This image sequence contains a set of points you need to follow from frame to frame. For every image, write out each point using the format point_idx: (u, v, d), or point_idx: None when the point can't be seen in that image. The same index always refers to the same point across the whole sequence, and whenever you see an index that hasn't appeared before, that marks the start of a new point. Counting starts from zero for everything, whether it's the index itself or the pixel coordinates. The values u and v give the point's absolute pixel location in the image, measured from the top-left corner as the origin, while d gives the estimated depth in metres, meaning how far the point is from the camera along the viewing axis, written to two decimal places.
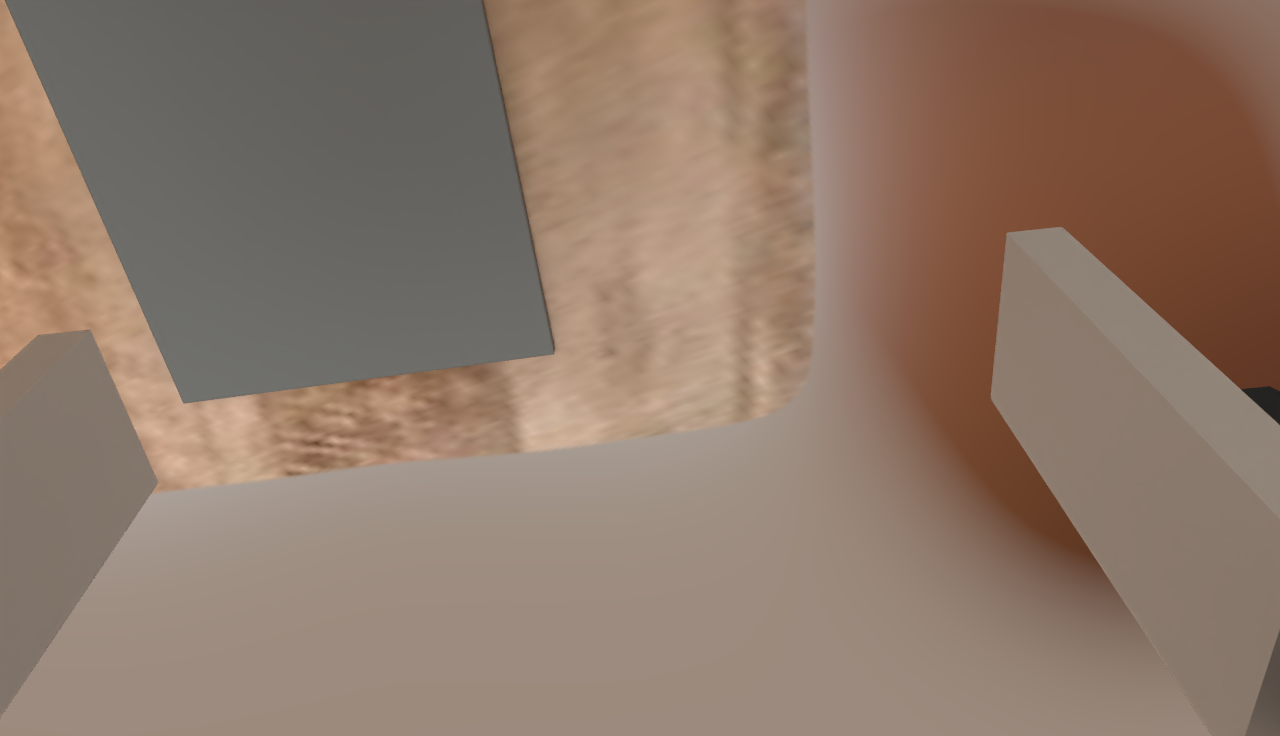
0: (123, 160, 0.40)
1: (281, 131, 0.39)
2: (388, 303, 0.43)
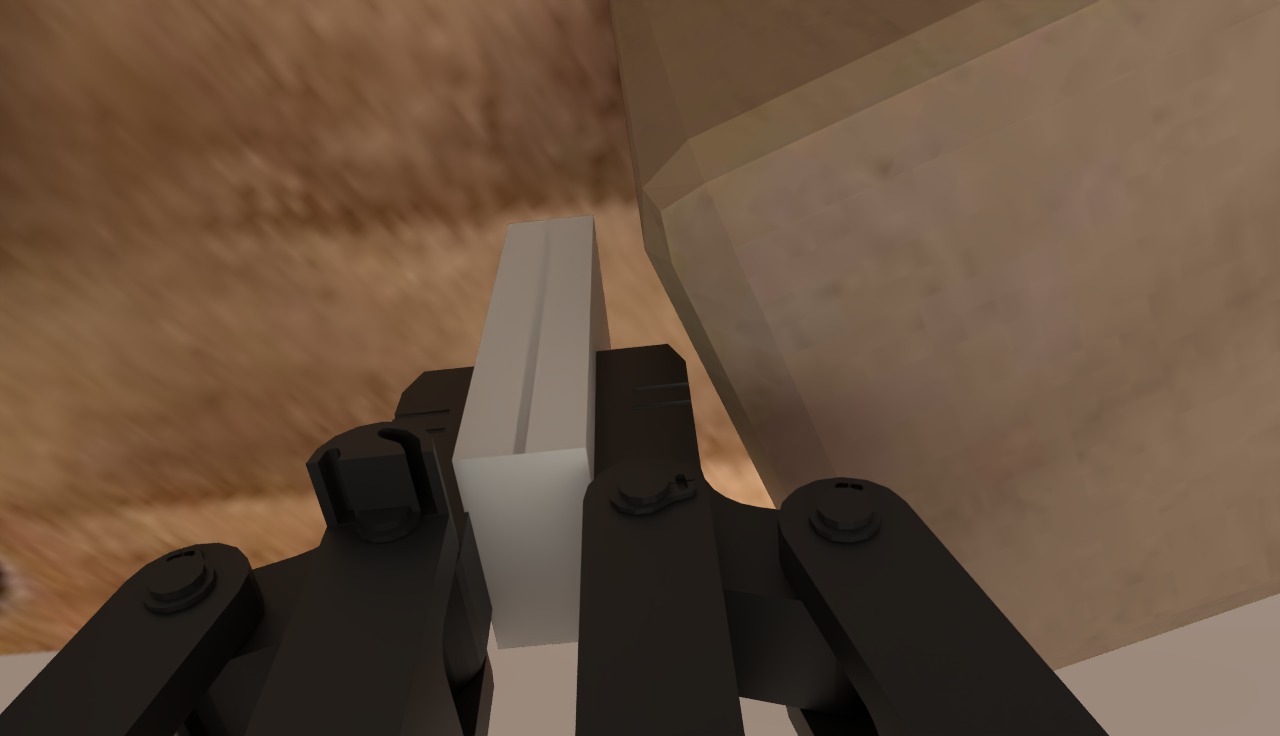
0: None
1: None
2: None
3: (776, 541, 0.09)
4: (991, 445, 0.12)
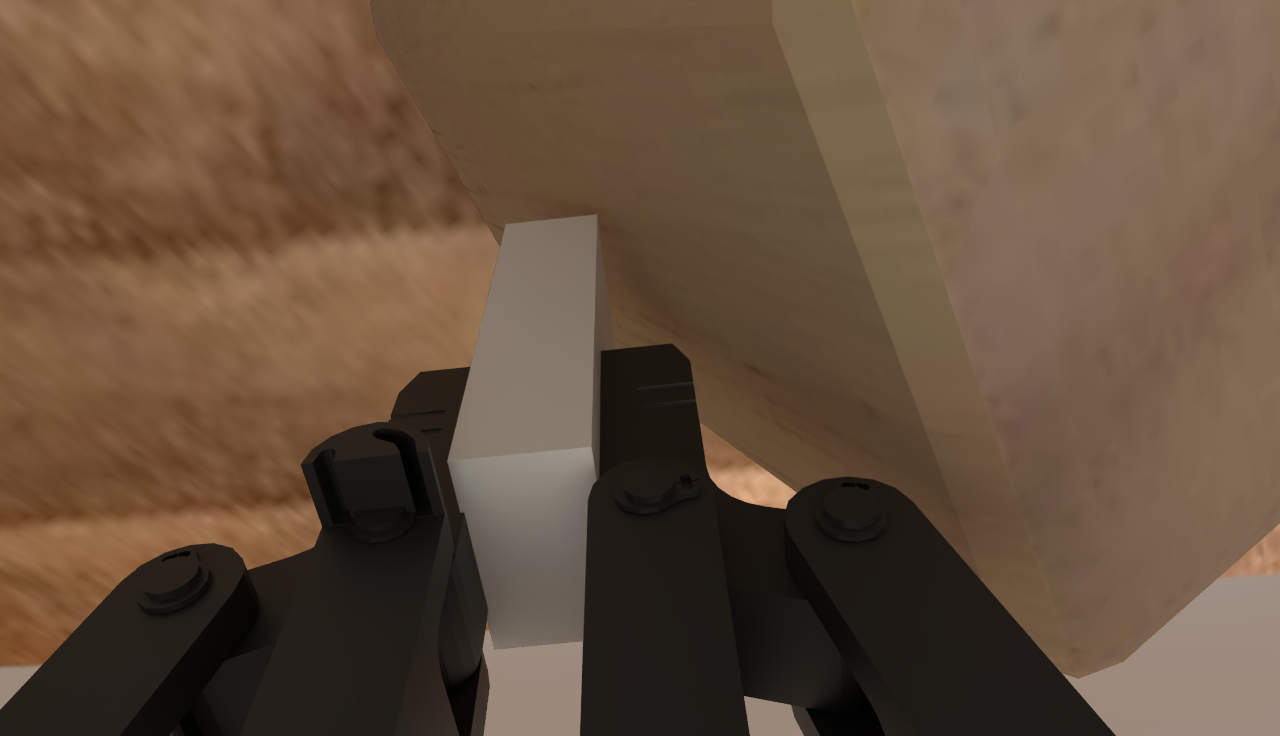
0: None
1: None
2: None
3: (782, 540, 0.09)
4: (1194, 252, 0.09)
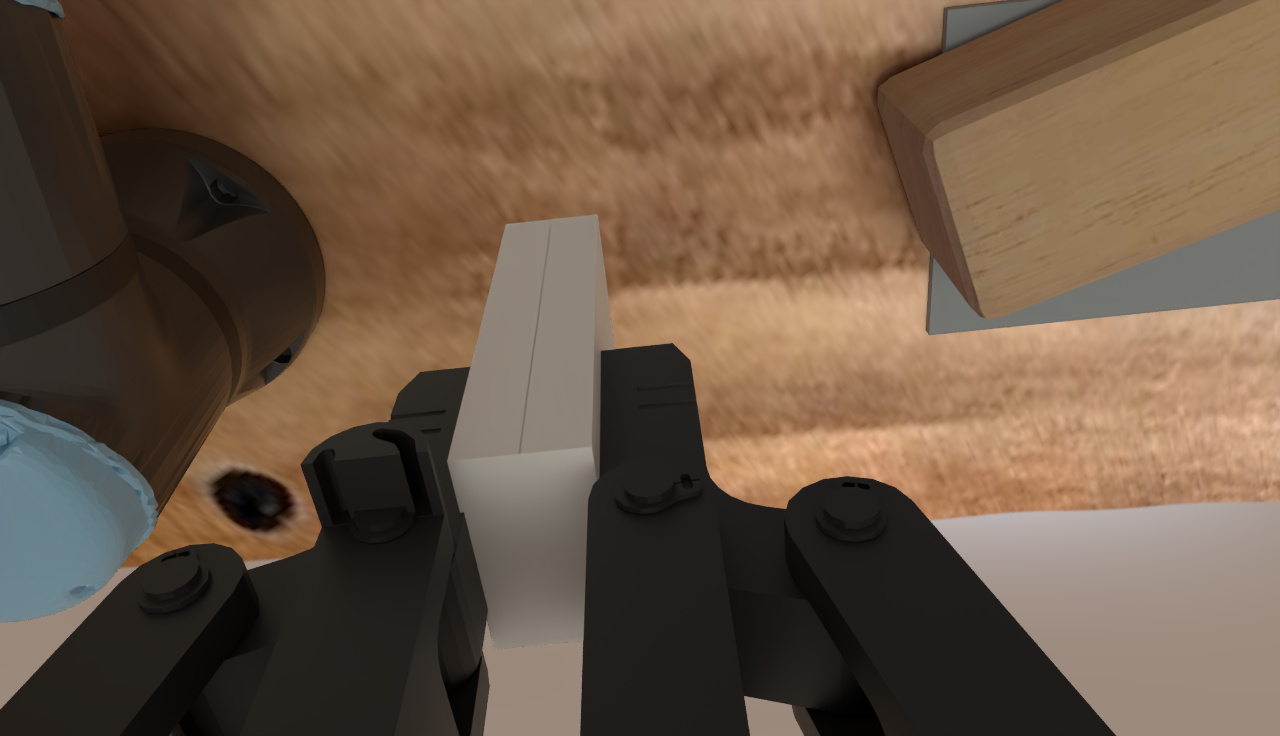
0: (1111, 286, 0.54)
1: None
2: None
3: (782, 540, 0.09)
4: None
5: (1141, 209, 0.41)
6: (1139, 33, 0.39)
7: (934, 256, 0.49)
